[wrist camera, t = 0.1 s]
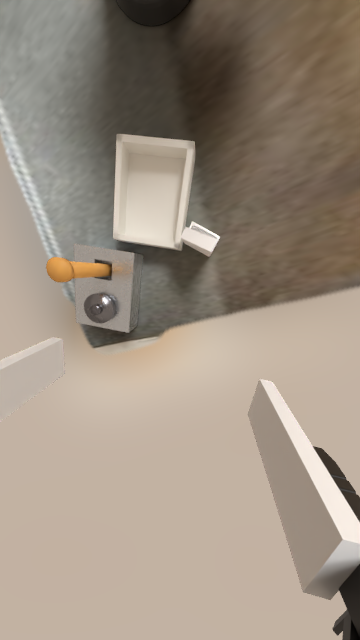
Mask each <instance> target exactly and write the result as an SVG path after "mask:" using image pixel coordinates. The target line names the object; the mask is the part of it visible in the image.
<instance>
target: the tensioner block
mask: <svg viewBox="0 0 360 640" xmlns="http://www.w3.org/2000/svg"><path fill="white" fill-rule="evenodd" d="M74 262H86V263H101V264H112V276H104V277H88V278H75V303H76V323H81V324H86V325H92V326H97V327H102V328H107V329H112V330H117V331H122V332H127V333H129V332H130V331H132V330H133V329H134V328H135V327H136V326H137V324H138V312H139V300H140V288H141V277H142V265H143V255H140V254H136V253H131V252H125V251H118V250H112V249H106V248H99V247H93V246H87V245H80V244H74Z"/></svg>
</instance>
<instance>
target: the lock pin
mask: <svg viewBox="0 0 360 640" xmlns="http://www.w3.org/2000/svg"><path fill="white" fill-rule="evenodd" d="M46 268H47V273H48V275H49V276H50V278H51V279H53V280H54V281H56V282H68V281H70V280H71V279H72V278H88V277H104V276H112V264H101V263H86V262H71V261H68V260H67V259H65V258H58V257H53V258H51V259H49V261H48V262H47V266H46Z"/></svg>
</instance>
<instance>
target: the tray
mask: <svg viewBox="0 0 360 640" xmlns="http://www.w3.org/2000/svg"><path fill="white" fill-rule="evenodd" d="M195 156H196V154H195V141H186V140H176V139H166V138H156V137H146V136H136V135H126V134H117V139H116V168H115V197H114V227H113V239H115V240H118V241H121V242H127V243H133V244H140V245H146V246H153V247H159V248H166V249H172V250H179V251H182V245H183V241H182V239H181V238H180V237H181V235H182V233H183V231H184V229H185V225H186V218H187V211H188V204H189V197H190V190H191V183H192V177H193V170H194V163H195Z"/></svg>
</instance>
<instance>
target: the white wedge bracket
mask: <svg viewBox="0 0 360 640" xmlns="http://www.w3.org/2000/svg"><path fill="white" fill-rule="evenodd" d="M180 238H181V239H182V241H183V242H184V243H185V244H186V245H188V246H190V247H192V248H194V249H195V250H197V251H199V252H201V253H203V254H205V255H206V256H208V257H210V255H211V253H212V252H213V250H214V248H215V246H216V244H217V242H218V240H219V238H220V236H218V235H216V234H215V233H213V232H211V231H209V230H207V229H205V228H204V227H202V226H200V225H198V224H196V223H195V222H193V221H192V223H191V225H190V227H189V228H188V227H185V229H184V231H183V233H182V235H181V237H180Z"/></svg>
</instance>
